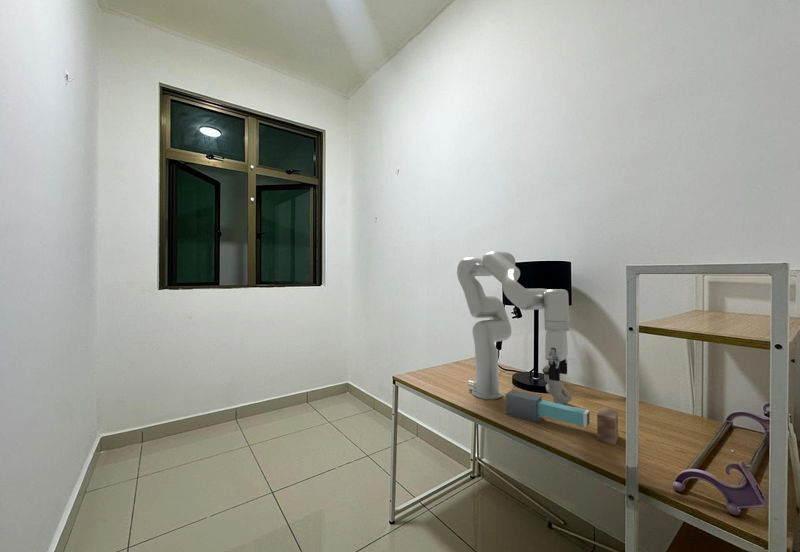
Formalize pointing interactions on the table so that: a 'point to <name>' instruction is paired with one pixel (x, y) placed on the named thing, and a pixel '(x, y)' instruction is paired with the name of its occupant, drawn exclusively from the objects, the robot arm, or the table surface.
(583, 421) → the light blue long bar
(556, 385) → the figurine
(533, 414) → the sleeve
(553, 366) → the robot arm
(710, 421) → the table surface
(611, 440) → the brown rectangular block
